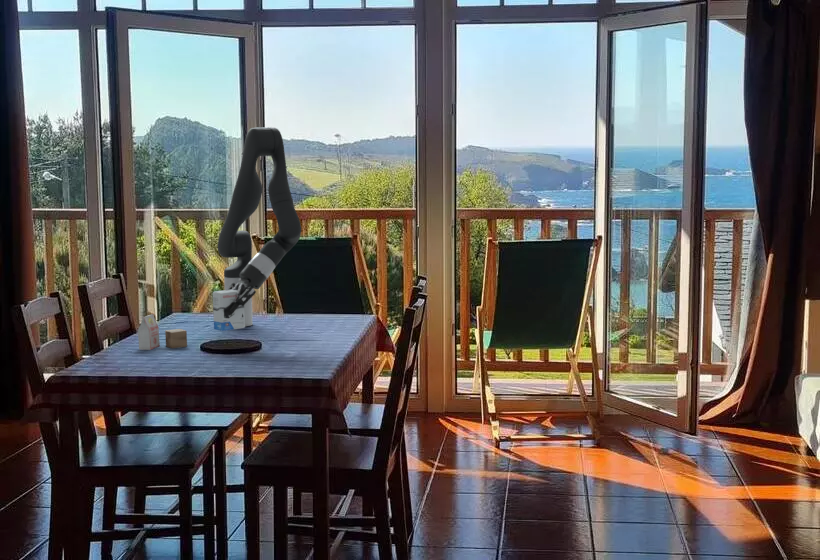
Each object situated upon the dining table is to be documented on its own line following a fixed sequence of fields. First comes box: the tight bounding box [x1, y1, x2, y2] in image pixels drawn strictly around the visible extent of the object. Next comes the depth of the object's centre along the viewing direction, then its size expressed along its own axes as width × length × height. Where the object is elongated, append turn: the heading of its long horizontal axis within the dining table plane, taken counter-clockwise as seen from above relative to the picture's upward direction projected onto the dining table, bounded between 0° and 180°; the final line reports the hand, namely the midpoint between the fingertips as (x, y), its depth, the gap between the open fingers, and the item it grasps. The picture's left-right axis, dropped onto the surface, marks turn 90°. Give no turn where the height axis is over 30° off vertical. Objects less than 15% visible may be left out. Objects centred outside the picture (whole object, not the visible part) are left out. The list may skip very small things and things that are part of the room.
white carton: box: [137, 313, 161, 351], centre depth 296 cm, size 4×7×10 cm, turn 171°
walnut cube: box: [164, 328, 188, 349], centre depth 298 cm, size 5×5×5 cm
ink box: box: [212, 289, 246, 332], centre depth 296 cm, size 8×5×12 cm, turn 131°
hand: (223, 312), depth 295 cm, fingers closed on ink box, 5 cm apart
